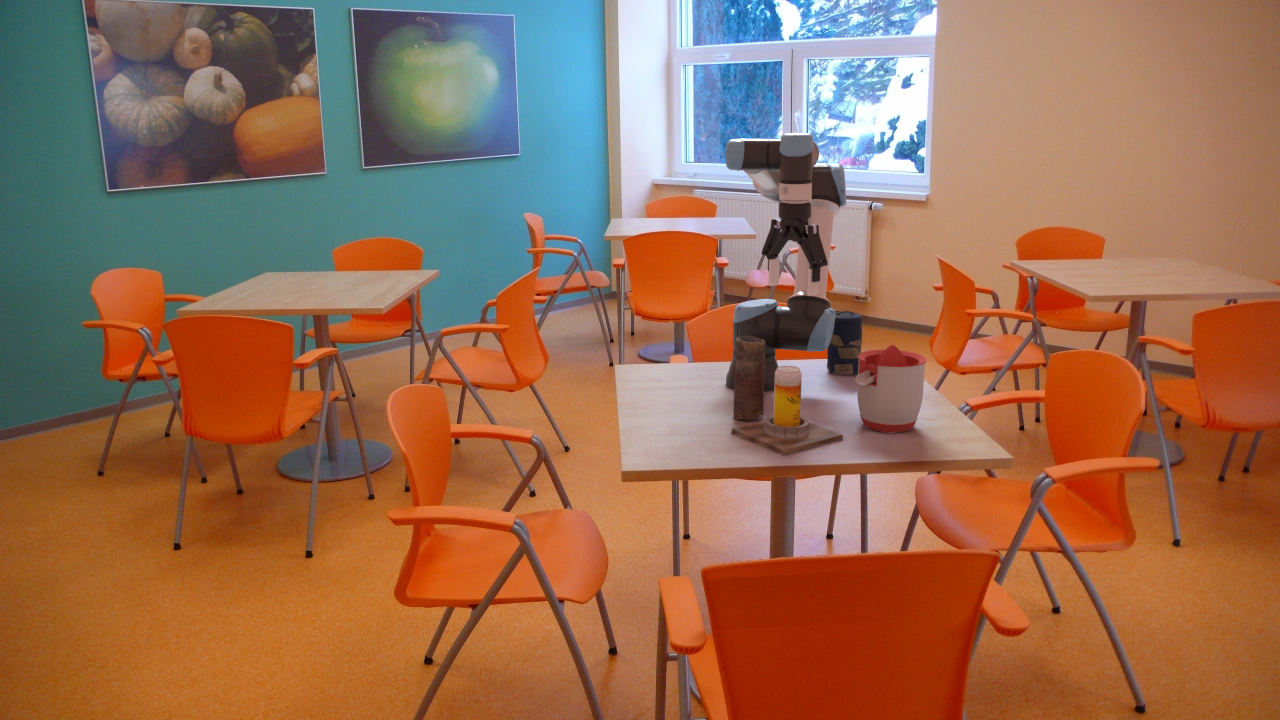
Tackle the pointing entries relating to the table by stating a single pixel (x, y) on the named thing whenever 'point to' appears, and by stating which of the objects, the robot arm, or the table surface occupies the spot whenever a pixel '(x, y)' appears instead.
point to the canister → (845, 344)
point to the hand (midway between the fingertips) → (792, 290)
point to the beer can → (787, 396)
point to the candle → (749, 378)
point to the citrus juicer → (890, 388)
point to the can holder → (786, 435)
